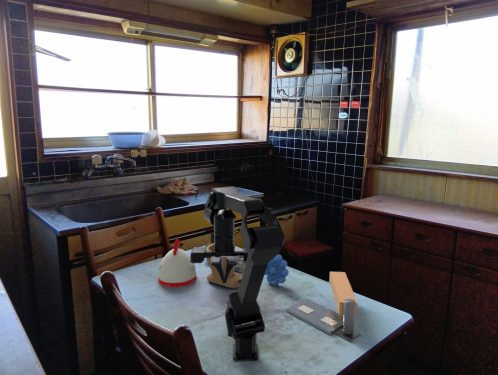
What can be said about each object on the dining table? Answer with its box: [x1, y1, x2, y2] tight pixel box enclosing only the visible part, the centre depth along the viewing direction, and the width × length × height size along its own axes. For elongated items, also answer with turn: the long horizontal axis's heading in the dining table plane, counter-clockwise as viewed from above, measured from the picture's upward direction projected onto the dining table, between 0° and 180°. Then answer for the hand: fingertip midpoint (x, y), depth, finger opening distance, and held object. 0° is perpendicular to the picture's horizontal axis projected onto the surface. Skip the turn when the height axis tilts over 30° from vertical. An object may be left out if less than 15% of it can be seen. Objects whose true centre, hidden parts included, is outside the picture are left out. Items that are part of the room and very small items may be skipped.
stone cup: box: [205, 244, 243, 289], centre depth 137 cm, size 15×12×15 cm
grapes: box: [264, 254, 290, 287], centre depth 137 cm, size 12×7×12 cm, turn 44°
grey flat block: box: [334, 328, 361, 343], centre depth 107 cm, size 5×5×1 cm
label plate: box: [285, 298, 343, 336], centre depth 116 cm, size 17×10×1 cm, turn 41°
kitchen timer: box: [157, 238, 197, 288], centre depth 141 cm, size 14×14×15 cm
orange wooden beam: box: [328, 271, 358, 334], centre depth 116 cm, size 24×5×9 cm, turn 176°
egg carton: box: [233, 258, 246, 273], centre depth 152 cm, size 11×8×4 cm
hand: (224, 282), depth 110 cm, fingers closed
